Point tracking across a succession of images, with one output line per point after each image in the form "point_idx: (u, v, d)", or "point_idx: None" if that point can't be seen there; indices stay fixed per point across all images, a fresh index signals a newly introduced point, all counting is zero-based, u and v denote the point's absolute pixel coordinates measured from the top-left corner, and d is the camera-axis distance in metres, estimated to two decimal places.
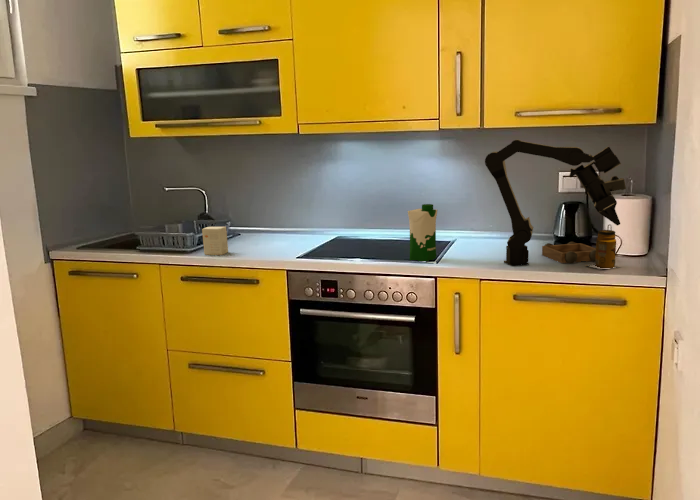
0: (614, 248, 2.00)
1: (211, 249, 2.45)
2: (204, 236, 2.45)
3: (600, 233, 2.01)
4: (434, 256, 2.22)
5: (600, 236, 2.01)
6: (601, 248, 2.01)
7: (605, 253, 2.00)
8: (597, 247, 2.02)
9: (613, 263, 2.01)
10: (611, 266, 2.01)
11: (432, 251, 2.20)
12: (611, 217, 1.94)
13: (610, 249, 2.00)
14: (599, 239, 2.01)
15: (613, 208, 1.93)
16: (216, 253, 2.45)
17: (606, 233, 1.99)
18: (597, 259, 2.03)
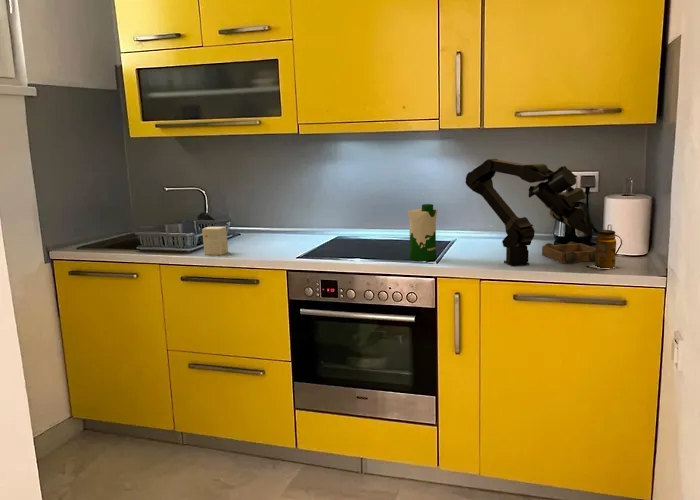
0: (614, 248, 2.00)
1: (211, 249, 2.45)
2: (204, 236, 2.45)
3: (600, 233, 2.01)
4: (434, 256, 2.22)
5: (600, 236, 2.01)
6: (601, 248, 2.01)
7: (605, 253, 2.00)
8: (597, 247, 2.02)
9: (613, 263, 2.01)
10: (611, 266, 2.01)
11: (432, 251, 2.20)
12: (582, 228, 1.95)
13: (610, 249, 2.00)
14: (599, 239, 2.01)
15: (582, 219, 1.94)
16: (216, 253, 2.45)
17: (606, 233, 1.99)
18: (597, 259, 2.03)
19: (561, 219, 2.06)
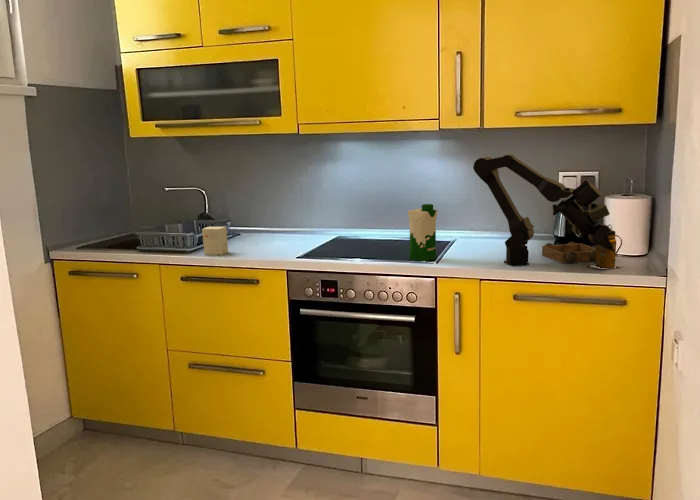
0: (614, 248, 2.00)
1: (211, 249, 2.45)
2: (204, 236, 2.45)
3: None
4: (434, 256, 2.22)
5: None
6: (601, 248, 2.01)
7: (605, 253, 2.00)
8: (597, 247, 2.02)
9: (613, 263, 2.01)
10: (611, 266, 2.01)
11: (432, 251, 2.20)
12: (604, 244, 1.98)
13: None
14: None
15: (605, 235, 1.96)
16: (216, 253, 2.45)
17: None
18: (597, 259, 2.03)
19: (585, 236, 2.05)
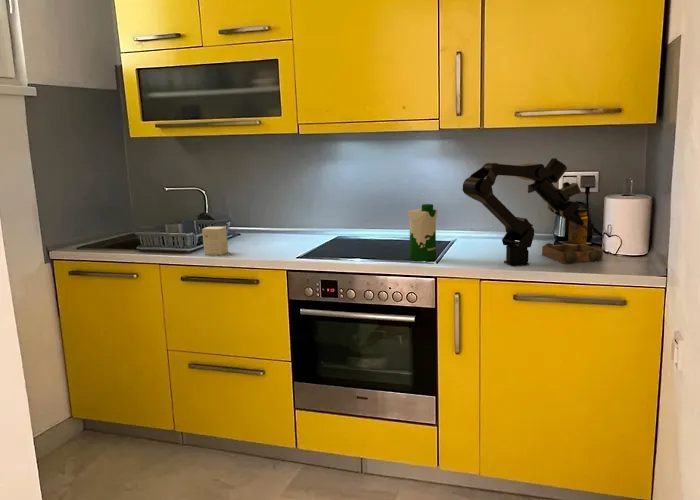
0: (585, 225, 2.12)
1: (211, 249, 2.45)
2: (204, 236, 2.45)
3: None
4: (434, 256, 2.22)
5: None
6: (573, 224, 2.13)
7: (577, 229, 2.12)
8: (570, 224, 2.14)
9: (584, 239, 2.13)
10: (582, 242, 2.13)
11: (432, 251, 2.20)
12: (575, 220, 2.10)
13: (581, 226, 2.12)
14: None
15: (576, 211, 2.09)
16: (216, 253, 2.45)
17: (578, 210, 2.11)
18: (569, 235, 2.15)
19: (559, 213, 2.18)
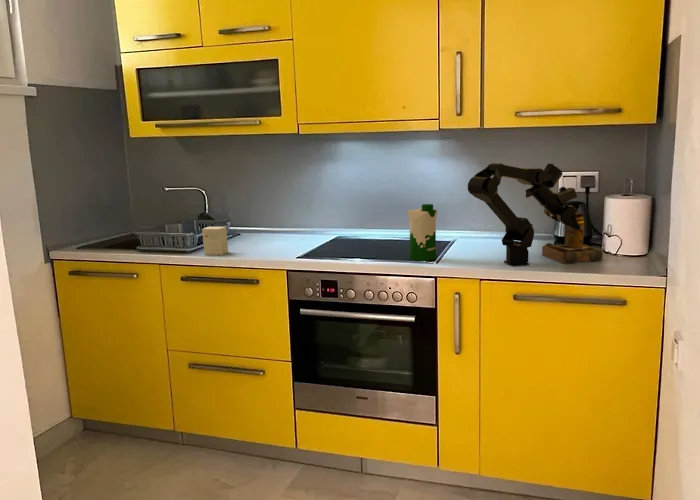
0: (582, 229, 2.14)
1: (211, 249, 2.45)
2: (204, 236, 2.45)
3: None
4: (434, 256, 2.22)
5: None
6: (569, 229, 2.15)
7: (574, 234, 2.14)
8: (566, 228, 2.16)
9: (581, 243, 2.15)
10: (579, 246, 2.15)
11: (432, 251, 2.20)
12: (572, 224, 2.12)
13: (578, 230, 2.14)
14: None
15: (573, 216, 2.11)
16: (216, 253, 2.45)
17: None
18: (566, 239, 2.17)
19: (556, 217, 2.20)
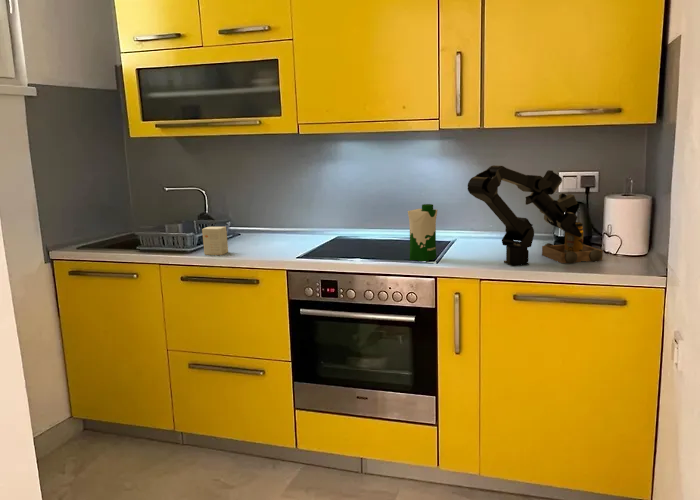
0: (581, 239, 2.15)
1: (211, 249, 2.45)
2: (204, 236, 2.45)
3: None
4: (434, 256, 2.22)
5: None
6: (569, 238, 2.15)
7: (573, 243, 2.15)
8: (566, 238, 2.17)
9: None
10: None
11: (432, 251, 2.20)
12: (573, 231, 2.11)
13: (577, 240, 2.14)
14: None
15: (574, 223, 2.10)
16: (216, 253, 2.45)
17: None
18: (566, 249, 2.17)
19: (555, 223, 2.21)
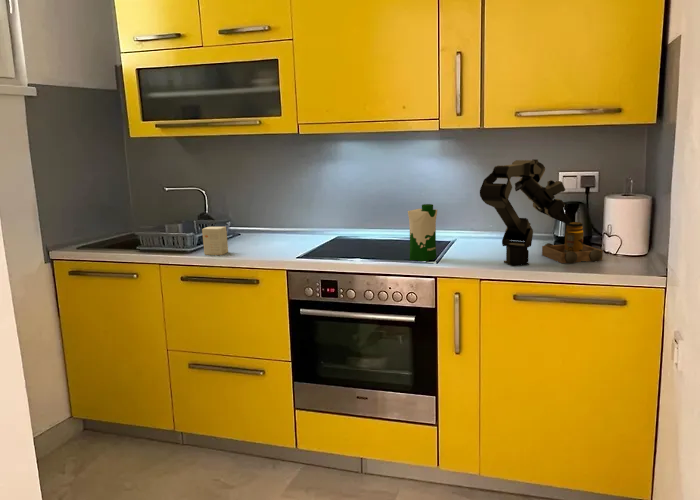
0: (581, 239, 2.15)
1: (211, 249, 2.45)
2: (204, 236, 2.45)
3: (568, 225, 2.15)
4: (434, 256, 2.22)
5: (568, 227, 2.16)
6: (569, 238, 2.15)
7: (573, 243, 2.15)
8: (566, 238, 2.17)
9: None
10: None
11: (432, 251, 2.20)
12: (561, 218, 2.11)
13: (577, 240, 2.14)
14: (567, 230, 2.16)
15: (562, 210, 2.09)
16: (216, 253, 2.45)
17: (574, 225, 2.14)
18: (566, 249, 2.17)
19: (543, 210, 2.21)
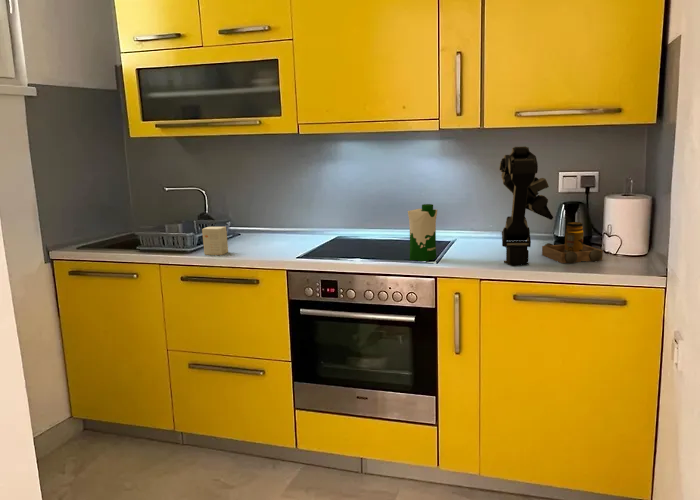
0: (581, 239, 2.15)
1: (211, 249, 2.45)
2: (204, 236, 2.45)
3: (568, 225, 2.15)
4: (434, 256, 2.22)
5: (568, 227, 2.16)
6: (569, 238, 2.15)
7: (573, 243, 2.15)
8: (566, 238, 2.17)
9: None
10: None
11: (432, 251, 2.20)
12: (545, 214, 2.18)
13: (578, 240, 2.14)
14: (567, 230, 2.16)
15: (545, 206, 2.16)
16: (216, 253, 2.45)
17: (574, 225, 2.14)
18: (566, 249, 2.17)
19: (528, 206, 2.28)
